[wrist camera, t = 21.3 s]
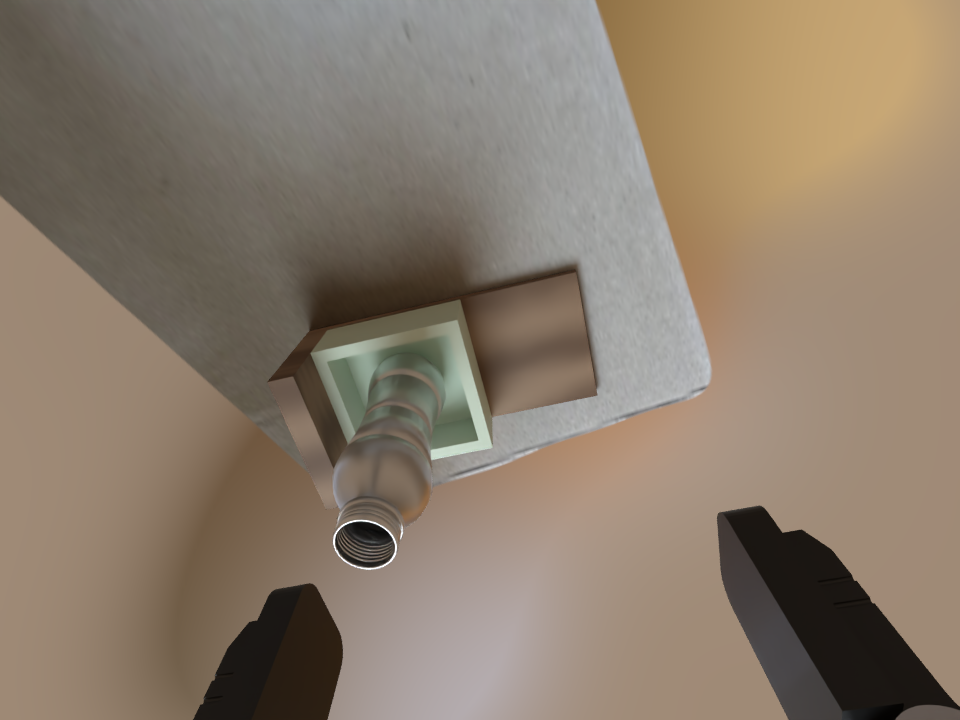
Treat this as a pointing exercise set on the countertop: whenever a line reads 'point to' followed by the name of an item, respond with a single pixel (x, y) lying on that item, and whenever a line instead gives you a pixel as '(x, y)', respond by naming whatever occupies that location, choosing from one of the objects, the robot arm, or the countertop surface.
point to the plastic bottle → (388, 461)
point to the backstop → (499, 353)
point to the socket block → (424, 332)
